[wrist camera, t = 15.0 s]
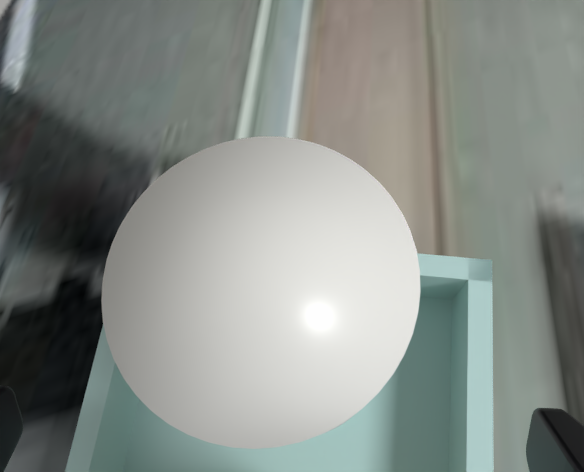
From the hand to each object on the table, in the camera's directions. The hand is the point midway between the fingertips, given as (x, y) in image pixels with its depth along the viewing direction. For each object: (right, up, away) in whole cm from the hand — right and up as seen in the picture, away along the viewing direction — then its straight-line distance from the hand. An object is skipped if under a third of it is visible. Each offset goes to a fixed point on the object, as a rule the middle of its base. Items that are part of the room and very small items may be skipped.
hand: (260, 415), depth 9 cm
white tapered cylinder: (+1, -2, +11) cm, 12 cm away
